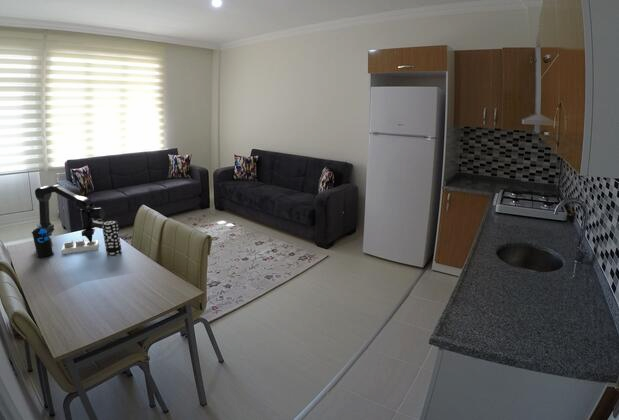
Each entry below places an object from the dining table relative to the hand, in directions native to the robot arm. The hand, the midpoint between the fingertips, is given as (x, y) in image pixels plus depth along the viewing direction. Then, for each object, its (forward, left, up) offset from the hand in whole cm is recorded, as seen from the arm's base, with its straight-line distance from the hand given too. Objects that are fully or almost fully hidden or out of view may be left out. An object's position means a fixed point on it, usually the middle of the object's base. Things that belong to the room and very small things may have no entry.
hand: (91, 241), depth 229 cm
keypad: (-6, 0, -4) cm, 7 cm away
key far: (0, 0, -3) cm, 3 cm away
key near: (-12, 0, -1) cm, 12 cm away
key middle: (-6, 0, -1) cm, 6 cm away
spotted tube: (+13, -16, -4) cm, 21 cm away
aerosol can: (-24, -3, -4) cm, 25 cm away
